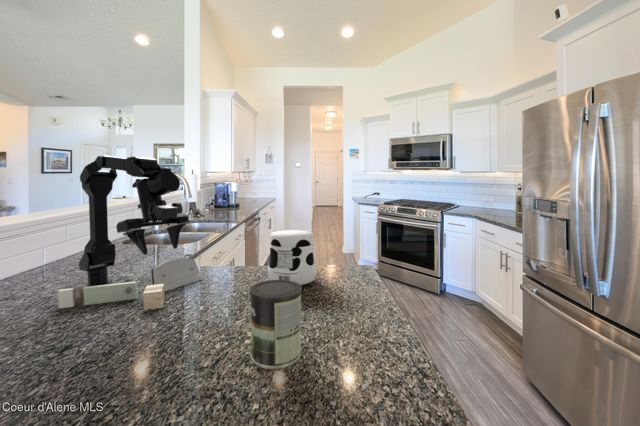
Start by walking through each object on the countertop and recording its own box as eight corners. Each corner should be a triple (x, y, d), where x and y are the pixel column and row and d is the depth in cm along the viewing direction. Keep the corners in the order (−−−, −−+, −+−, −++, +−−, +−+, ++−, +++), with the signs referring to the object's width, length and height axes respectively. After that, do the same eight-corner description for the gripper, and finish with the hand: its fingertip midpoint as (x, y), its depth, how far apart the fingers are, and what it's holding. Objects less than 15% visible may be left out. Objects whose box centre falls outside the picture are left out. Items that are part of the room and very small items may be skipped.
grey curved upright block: (159, 293, 95) (152, 263, 96) (152, 295, 97) (145, 265, 98) (204, 279, 109) (197, 253, 110) (196, 281, 111) (190, 256, 112)
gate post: (76, 304, 85) (75, 286, 85) (84, 303, 86) (82, 285, 86) (74, 306, 84) (72, 288, 83) (81, 305, 84) (80, 287, 84)
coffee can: (247, 371, 55) (245, 297, 53) (254, 342, 65) (253, 280, 64) (302, 368, 55) (302, 296, 54) (301, 340, 66) (301, 278, 64)
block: (147, 301, 88) (146, 285, 87) (164, 299, 90) (163, 283, 89) (144, 310, 81) (143, 293, 81) (162, 308, 83) (161, 291, 83)
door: (85, 303, 86) (84, 286, 86) (137, 297, 91) (136, 281, 91) (82, 306, 84) (81, 289, 83) (136, 300, 89) (135, 283, 88)
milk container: (305, 273, 117) (305, 228, 115) (324, 286, 101) (324, 235, 100) (262, 279, 109) (261, 231, 108) (276, 294, 94) (275, 239, 92)
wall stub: (61, 306, 84) (60, 289, 83) (75, 304, 85) (74, 287, 85) (59, 308, 82) (57, 291, 82) (73, 306, 84) (72, 289, 83)
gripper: (133, 193, 74) (145, 254, 73) (195, 192, 90) (205, 241, 90) (110, 203, 79) (121, 259, 79) (172, 200, 96) (182, 247, 95)
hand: (161, 251), depth 85 cm, fingers open, 9 cm apart
